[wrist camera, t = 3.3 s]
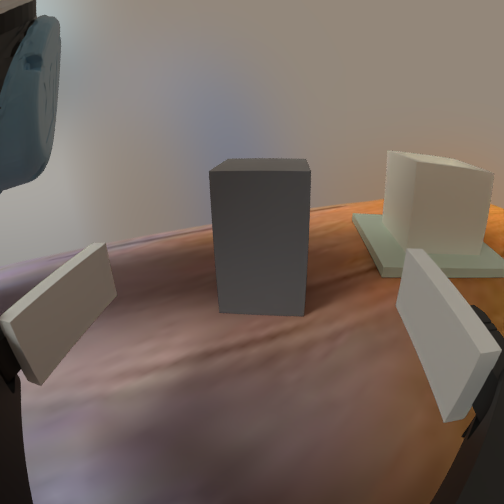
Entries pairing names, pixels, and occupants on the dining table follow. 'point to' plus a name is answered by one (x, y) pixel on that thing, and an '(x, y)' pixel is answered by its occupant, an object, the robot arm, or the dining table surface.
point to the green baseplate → (453, 266)
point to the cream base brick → (436, 203)
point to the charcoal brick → (261, 235)
